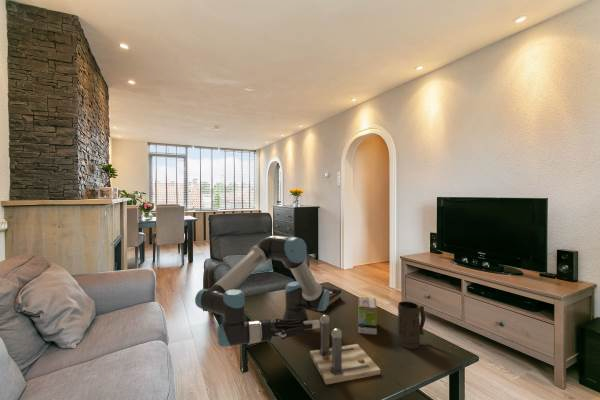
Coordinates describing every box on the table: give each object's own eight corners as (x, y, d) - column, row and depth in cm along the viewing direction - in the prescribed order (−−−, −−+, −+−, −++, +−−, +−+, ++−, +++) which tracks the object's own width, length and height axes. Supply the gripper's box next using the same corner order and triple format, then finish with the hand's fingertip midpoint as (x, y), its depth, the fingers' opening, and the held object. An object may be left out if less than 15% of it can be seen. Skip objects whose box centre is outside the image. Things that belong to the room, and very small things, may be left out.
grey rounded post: (329, 368, 117) (329, 327, 117) (339, 367, 118) (339, 325, 118) (333, 375, 113) (333, 332, 113) (343, 373, 114) (343, 330, 114)
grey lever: (318, 350, 131) (318, 313, 130) (327, 349, 132) (327, 312, 132) (322, 356, 127) (321, 317, 126) (331, 354, 128) (331, 316, 127)
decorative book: (298, 295, 189) (320, 284, 214) (298, 307, 189) (320, 293, 214) (324, 301, 178) (343, 288, 203) (324, 313, 178) (343, 299, 203)
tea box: (377, 335, 150) (377, 307, 150) (358, 333, 152) (358, 306, 152) (375, 322, 165) (375, 297, 164) (358, 321, 167) (358, 296, 166)
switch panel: (310, 355, 131) (310, 350, 131) (357, 347, 137) (357, 343, 137) (326, 384, 111) (326, 378, 111) (380, 374, 117) (380, 368, 117)
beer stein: (408, 351, 134) (410, 309, 134) (391, 341, 143) (393, 301, 144) (430, 345, 141) (432, 305, 141) (412, 336, 150) (414, 298, 151)
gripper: (258, 332, 113) (314, 325, 119) (262, 349, 101) (324, 341, 107) (258, 314, 113) (314, 308, 119) (262, 328, 101) (324, 321, 107)
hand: (319, 323), depth 113 cm, fingers closed
